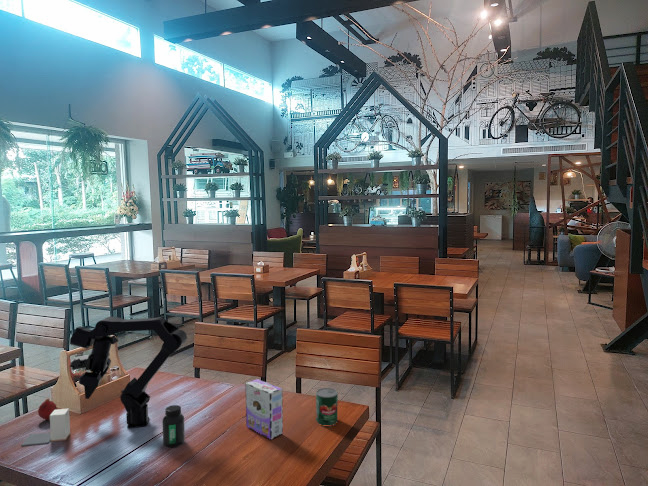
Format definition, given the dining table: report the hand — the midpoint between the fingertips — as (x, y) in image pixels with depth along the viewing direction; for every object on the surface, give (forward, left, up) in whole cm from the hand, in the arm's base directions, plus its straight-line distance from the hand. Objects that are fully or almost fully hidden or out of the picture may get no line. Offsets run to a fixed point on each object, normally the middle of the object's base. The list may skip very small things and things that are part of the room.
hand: (90, 392), depth 164 cm
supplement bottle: (-31, +21, -12) cm, 39 cm away
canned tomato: (-84, +17, -12) cm, 86 cm away
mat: (+14, +9, -11) cm, 20 cm away
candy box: (-61, +19, -12) cm, 64 cm away
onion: (+16, -6, -12) cm, 21 cm away
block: (+7, +9, -11) cm, 16 cm away
